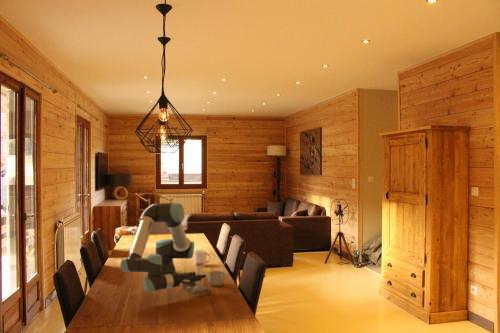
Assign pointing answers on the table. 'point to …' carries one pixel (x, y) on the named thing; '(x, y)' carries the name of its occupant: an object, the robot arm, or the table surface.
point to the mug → (200, 257)
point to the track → (191, 289)
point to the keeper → (199, 284)
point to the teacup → (216, 278)
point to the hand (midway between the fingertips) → (207, 274)
